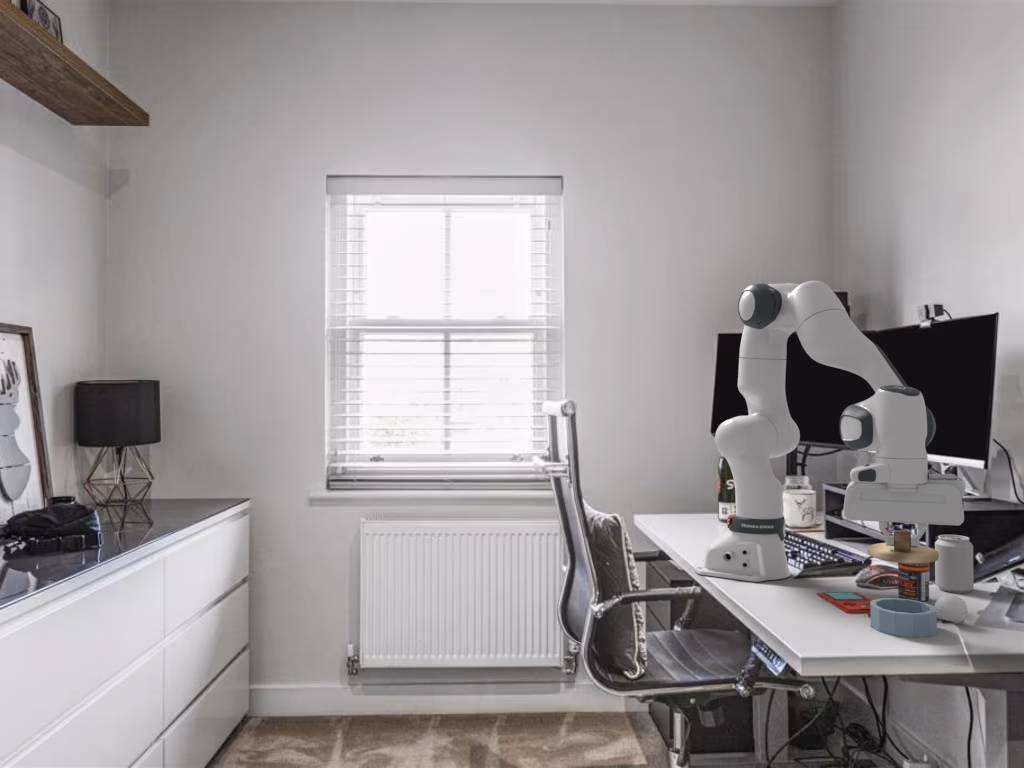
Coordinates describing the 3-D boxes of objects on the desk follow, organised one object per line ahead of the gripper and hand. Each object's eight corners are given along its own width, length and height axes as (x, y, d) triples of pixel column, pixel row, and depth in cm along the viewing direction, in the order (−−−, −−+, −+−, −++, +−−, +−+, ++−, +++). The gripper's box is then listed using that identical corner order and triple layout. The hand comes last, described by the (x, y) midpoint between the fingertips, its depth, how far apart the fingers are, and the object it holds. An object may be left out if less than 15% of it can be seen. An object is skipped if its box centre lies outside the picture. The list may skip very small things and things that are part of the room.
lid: (867, 560, 146) (867, 537, 145) (867, 544, 156) (866, 523, 156) (941, 565, 141) (941, 541, 140) (935, 549, 152) (935, 526, 151)
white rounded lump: (932, 617, 158) (932, 589, 158) (965, 620, 156) (965, 592, 156) (937, 629, 151) (937, 599, 151) (972, 632, 149) (971, 602, 149)
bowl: (871, 638, 146) (870, 610, 146) (870, 621, 156) (870, 595, 156) (938, 645, 141) (938, 617, 141) (933, 627, 151) (933, 601, 151)
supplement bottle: (892, 602, 169) (892, 549, 169) (905, 597, 173) (904, 545, 173) (922, 608, 164) (921, 553, 164) (934, 603, 168) (933, 549, 168)
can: (978, 594, 174) (978, 540, 174) (941, 593, 176) (941, 539, 176) (966, 586, 182) (965, 533, 182) (930, 584, 183) (930, 532, 183)
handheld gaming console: (846, 608, 158) (814, 591, 173) (846, 614, 158) (815, 596, 173) (891, 608, 159) (856, 591, 174) (891, 614, 159) (856, 596, 174)
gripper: (962, 472, 147) (963, 547, 147) (843, 469, 156) (844, 539, 156) (967, 476, 142) (968, 553, 142) (842, 472, 150) (843, 545, 150)
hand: (902, 546), depth 149 cm, fingers closed on lid, 3 cm apart
